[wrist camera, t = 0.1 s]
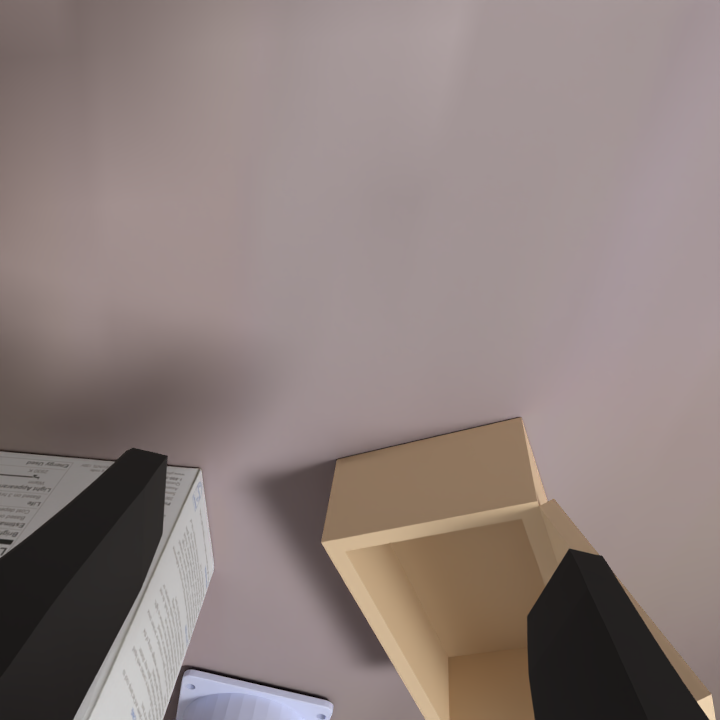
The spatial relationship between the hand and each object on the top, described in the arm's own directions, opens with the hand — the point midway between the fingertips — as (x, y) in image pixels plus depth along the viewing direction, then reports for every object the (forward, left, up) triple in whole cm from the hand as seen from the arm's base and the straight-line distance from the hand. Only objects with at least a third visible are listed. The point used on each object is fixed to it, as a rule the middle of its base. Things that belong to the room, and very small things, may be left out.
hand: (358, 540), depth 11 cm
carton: (-11, -6, -10) cm, 16 cm away
